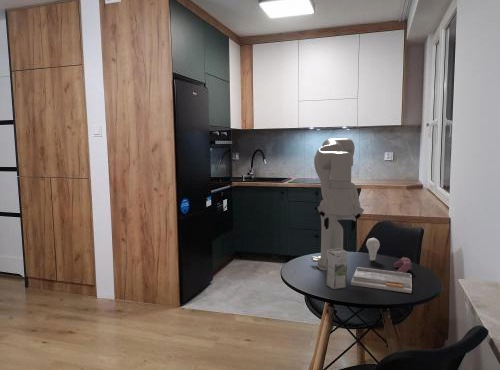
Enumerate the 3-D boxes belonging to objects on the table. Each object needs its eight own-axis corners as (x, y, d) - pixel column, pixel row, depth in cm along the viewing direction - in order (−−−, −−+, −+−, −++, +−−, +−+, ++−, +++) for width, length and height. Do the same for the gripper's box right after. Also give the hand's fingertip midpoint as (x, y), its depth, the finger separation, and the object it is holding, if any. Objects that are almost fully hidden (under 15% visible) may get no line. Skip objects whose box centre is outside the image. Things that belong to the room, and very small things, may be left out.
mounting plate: (350, 284, 147) (350, 279, 147) (356, 270, 164) (356, 266, 163) (411, 293, 138) (411, 288, 138) (411, 277, 155) (411, 272, 155)
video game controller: (406, 278, 159) (415, 264, 158) (396, 273, 159) (405, 259, 158) (402, 270, 168) (410, 257, 167) (392, 265, 169) (400, 252, 168)
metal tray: (353, 279, 149) (353, 276, 149) (357, 270, 161) (357, 267, 161) (410, 287, 141) (410, 283, 141) (410, 276, 153) (410, 273, 152)
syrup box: (338, 283, 149) (339, 247, 148) (346, 288, 144) (347, 251, 142) (325, 284, 147) (326, 248, 146) (334, 290, 142) (334, 252, 140)
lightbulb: (363, 259, 181) (364, 236, 180) (375, 258, 181) (376, 236, 180) (368, 262, 175) (369, 239, 174) (381, 262, 175) (382, 239, 174)
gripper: (315, 185, 141) (315, 229, 143) (363, 186, 135) (362, 233, 136) (319, 183, 148) (319, 226, 150) (365, 185, 142) (364, 229, 143)
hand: (339, 229), depth 143 cm, fingers open, 9 cm apart
